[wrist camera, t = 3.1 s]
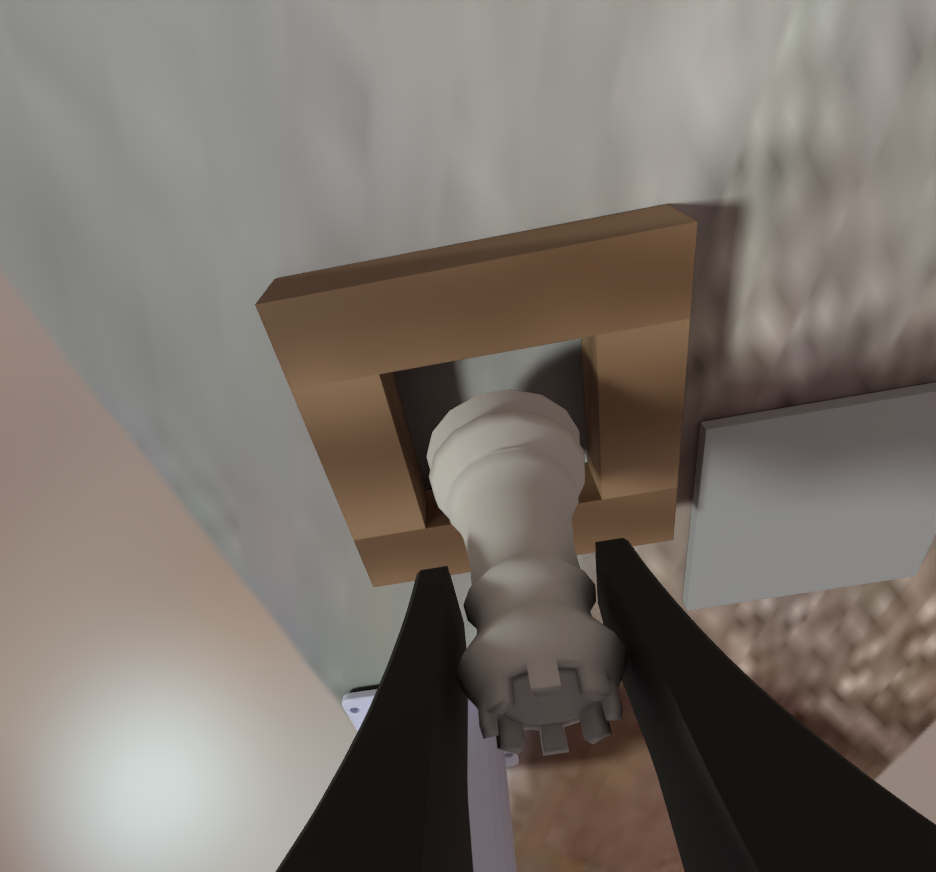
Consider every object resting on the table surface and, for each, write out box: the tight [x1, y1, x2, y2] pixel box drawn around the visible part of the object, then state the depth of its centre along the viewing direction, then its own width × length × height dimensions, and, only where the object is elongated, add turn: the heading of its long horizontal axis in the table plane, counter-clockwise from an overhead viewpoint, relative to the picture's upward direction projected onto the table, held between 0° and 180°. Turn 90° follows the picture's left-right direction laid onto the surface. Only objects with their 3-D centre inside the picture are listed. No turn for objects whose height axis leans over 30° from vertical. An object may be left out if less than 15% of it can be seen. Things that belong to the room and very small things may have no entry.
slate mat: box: [683, 382, 936, 610], centre depth 21 cm, size 10×10×1 cm
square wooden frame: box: [255, 204, 698, 587], centre depth 17 cm, size 11×11×2 cm
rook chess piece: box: [427, 389, 628, 756], centre depth 12 cm, size 4×4×8 cm
